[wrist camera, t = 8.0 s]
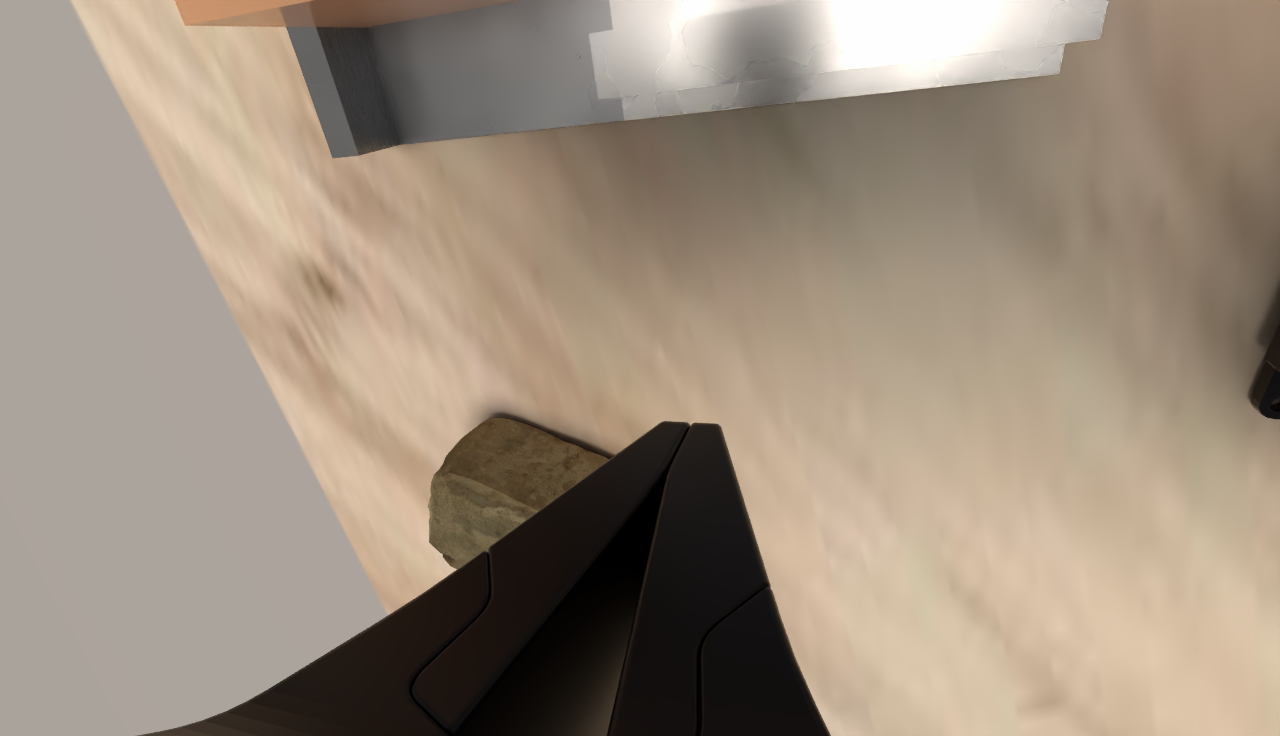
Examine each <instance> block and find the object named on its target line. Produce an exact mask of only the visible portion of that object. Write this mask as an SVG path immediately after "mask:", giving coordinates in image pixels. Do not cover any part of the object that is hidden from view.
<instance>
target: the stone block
mask: <svg viewBox="0 0 1280 736" xmlns="http://www.w3.org/2000/svg"><path fill="white" fill-rule="evenodd" d="M608 460H610V459H608V458H606V457H603V456H601V455H598V454H596V453H593V452H591V451H588V450H586V449H584V448H581V447H579V446H577V445H574V444H571V443H568V442H565V441H562V440H560V439H558V438H556V437H555V436H553V435H551V434H549V433H547V432H544V431H542V430H539V429H537V428H534V427H532V426H529V425H527V424H524V423H521V422H518V421H514V420H511V419H504V418H489V419H488V420H486V421H484V422H483V423H481V424H480V425H478V426H477V427H476V428H475V429H473V430H472V431H471V432H469V433H468V434H467V435H465V436H464V437H463V438H462V439H461V440H460V441H459V442H458V443H457V444H456V445H455V447H454V448H453V449H452V450H451V451H450V452H449V453H448V455H447V456H446V458H445V461H444V463H443V465H442V466H441V468H440V469H439V470H438V471H437V472H436V473H435V474H434V476H433V479H432V482H431V497H430V500H429V504H428V508H429V511H430V519H429V526H430V529H429V543H430V544H431V545H432V546H433V547H435V548H436V549H437V550H438V551H439V552H440V553H442V554H443V558H444V559H445V560H446V561H447V563H448V564H449V565H450V566H451V567H453V568H456V569H459V568H460V567H462V566H463V565H464V564H466V563H467V562H468V561H470V560H471V559H473V558H474V557H475V556H477V555H478V554H480V553H481V552H482V551H487V552H488V548H489V547H490V546H491V545H492V544H494V543H495V542H496V541H498V540H499V539H501V538H502V537H503V536H505V535H506V534H507V533H509V532H510V531H512V530H513V529H514V528H516V527H517V526H519V525H520V524H521V523H523V522H524V521H525V520H527V519H528V518H530V517H531V516H532V515H534V514H535V513H536V512H538V511H539V510H541V509H542V508H543V507H545V506H546V505H548V504H549V503H550V502H552V501H553V500H554V499H556V498H557V497H559V496H560V495H561V494H563V493H564V492H566V491H567V490H568V489H570V488H571V487H572V486H574V485H575V484H577V483H578V482H579V481H581V480H582V479H583V478H585V477H586V476H588V475H589V474H590V473H592V472H593V471H595V470H596V469H597V468H599V467H600V466H601V465H603V464H604V463H606V462H607V461H608Z"/></svg>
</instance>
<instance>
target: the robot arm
mask: <svg viewBox="0 0 1280 736" xmlns="http://www.w3.org/2000/svg"><path fill="white" fill-rule="evenodd" d="M1265 359H1266V361H1267V362H1266V364H1265V366H1264V369H1263V371H1262V373H1261V375H1260V378H1259V380H1258V382H1257V384H1256V387H1255V389H1254V391H1253V394H1252V396H1251V404H1252V406H1253V407H1254V408H1255V409H1256V410H1257V411H1259V412H1260V413H1261V414H1262V415H1264V416H1265V417H1267V418H1272V419H1280V402H1278V403H1276V404H1271V403H1272V402H1273V401H1274V400H1275V399H1277V398H1279V397H1280V324H1279V326H1278V328H1277V330H1276V333H1275V335H1274V337H1273V340H1272V342H1271V344H1270V346H1269V349H1268V351H1267V353H1266V356H1265ZM138 736H831V735H830V733H829V731H828V729H827V727H826V725H825V723H824V721H823V719H822V717H821V714H820V712H819V710H818V708H817V706H816V704H815V702H814V700H813V697H812V695H811V693H810V690H809V688H808V686H807V684H806V681H805V679H804V677H803V674H802V672H801V670H800V667H799V665H798V663H797V661H796V658H795V656H794V653H793V650H792V648H791V645H790V642H789V639H788V636H787V634H786V631H785V628H784V625H783V622H782V620H781V617H780V614H779V610H778V607H777V604H776V601H775V598H774V594H773V591H772V590H771V586H770V583H769V579H768V576H767V573H766V570H765V567H764V563H763V560H762V557H761V554H760V551H759V547H758V544H757V541H756V538H755V534H754V531H753V528H752V525H751V522H750V518H749V515H748V512H747V509H746V506H745V502H744V499H743V496H742V493H741V490H740V486H739V483H738V480H737V477H736V473H735V470H734V467H733V464H732V461H731V457H730V454H729V451H728V448H727V445H726V441H725V438H724V435H723V432H722V429H721V427H720V425H718V424H710V423H693V424H692V425H690V424H689V423H687V422H671V421H664V422H661V423H659V424H658V425H657V426H655V427H654V428H653V429H651V430H650V431H648V432H647V433H646V434H644V435H643V436H641V437H640V438H639V439H637V440H636V441H635V442H633V443H632V444H630V445H629V446H628V447H626V448H625V449H624V450H622V451H621V452H619V453H618V454H617V455H615V456H614V457H612V458H611V459H610V460H608V461H607V462H606V463H604V464H603V465H601V466H600V467H599V468H597V469H596V470H595V471H593V472H592V473H590V474H589V475H588V476H586V477H585V478H583V479H582V480H581V481H579V482H578V483H577V484H575V485H574V486H572V487H571V488H570V489H568V490H567V491H566V492H564V493H563V494H561V495H560V496H559V497H557V498H556V499H554V500H553V501H552V502H550V503H549V504H548V505H546V506H545V507H543V508H542V509H541V510H539V511H538V512H536V513H535V514H534V515H532V516H531V517H530V518H528V519H527V520H525V521H524V522H523V523H521V524H520V525H519V526H517V527H516V528H514V529H513V530H512V531H510V532H509V533H507V534H506V535H505V536H503V537H502V538H501V539H499V540H498V541H496V542H495V543H494V544H492V545H491V546H490V547H489V548H488V552H487V551H482V552H481V553H480V554H478V555H477V556H475V557H474V558H473V559H471V560H470V561H468V562H467V563H466V564H464V565H463V566H462V567H460V568H459V569H457V570H456V571H454V572H453V573H452V574H450V575H449V576H447V577H446V578H444V579H443V580H441V581H440V582H439V583H437V584H436V585H434V586H433V587H431V588H430V589H428V590H427V591H426V592H424V593H423V594H421V595H420V596H418V597H416V598H415V599H413V600H412V601H410V602H409V603H407V604H405V605H404V606H402V607H401V608H399V609H398V610H396V611H394V612H393V613H391V614H390V615H388V616H387V617H385V618H383V619H382V620H380V621H379V622H377V623H375V624H374V625H372V626H371V627H369V628H367V629H366V630H364V631H362V632H361V633H359V634H358V635H356V636H354V637H353V638H351V639H350V640H348V641H346V642H344V643H343V644H341V645H340V646H338V647H336V648H335V649H333V650H331V651H330V652H328V653H327V654H325V655H323V656H322V657H320V658H318V659H317V660H315V661H314V662H312V663H310V664H309V665H307V666H305V667H304V668H302V669H300V670H299V671H297V672H296V673H294V674H292V675H291V676H289V677H287V678H286V679H284V680H283V681H281V682H279V683H278V684H276V685H274V686H273V687H271V688H269V689H268V690H266V691H264V692H263V693H261V694H259V695H257V696H255V697H254V698H252V699H250V700H249V701H247V702H245V703H243V704H240V705H238V706H236V707H234V708H232V709H230V710H228V711H226V712H223V713H221V714H218V715H215V716H213V717H210V718H208V719H205V720H202V721H199V722H196V723H192V724H189V725H185V726H182V727H178V728H174V729H169V730H165V731H160V732H154V733H149V734H144V735H138Z"/></svg>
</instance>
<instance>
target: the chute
mask: <svg viewBox="0 0 1280 736" xmlns="http://www.w3.org/2000/svg"><path fill="white" fill-rule="evenodd" d="M1108 1H1109V0H521V1H515V2H509V3H503V4H498V5H492V6H486V7H480V8H475V9H469V10H463V11H457V12H452V13H446V14H440V15H434V16H429V17H423V18H417V19H412V20H406V21H400V22H394V23H389V24H383V25H377V26H371V27H366V28H351V27H286V28H287V31H288V33H289V36H290V39H291V42H292V45H293V47H294V50H295V53H296V56H297V59H298V62H299V64H300V67H301V70H302V73H303V76H304V78H305V81H306V84H307V87H308V90H309V92H310V95H311V98H312V101H313V104H314V107H315V109H316V112H317V115H318V118H319V121H320V123H321V126H322V129H323V132H324V135H325V138H326V140H327V143H328V146H329V149H330V152H331V154H332V157H333V158H340V157H350V156H359V155H363V154H367V153H370V152H374V151H378V150H382V149H386V148H389V147H393V146H397V145H402V144H412V143H421V142H430V141H440V140H449V139H458V138H467V137H477V136H486V135H495V134H505V133H514V132H523V131H533V130H542V129H551V128H561V127H570V126H579V125H588V124H598V123H607V122H616V121H627V120H636V119H646V118H655V117H664V116H674V115H683V114H692V113H702V112H711V111H720V110H730V109H739V108H748V107H758V106H767V105H776V104H786V103H795V102H804V101H813V100H823V99H832V98H841V97H851V96H860V95H869V94H879V93H888V92H897V91H907V90H916V89H925V88H935V87H944V86H953V85H962V84H972V83H981V82H990V81H1000V80H1009V79H1018V78H1028V77H1037V76H1046V75H1056V74H1059V73H1060V68H1061V63H1062V58H1063V53H1064V48H1065V43H1072V42H1080V41H1089V40H1097V39H1100V38H1101V33H1102V29H1103V24H1104V20H1105V15H1106V11H1107V6H1108Z"/></svg>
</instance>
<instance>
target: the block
mask: <svg viewBox="0 0 1280 736" xmlns="http://www.w3.org/2000/svg"><path fill="white" fill-rule="evenodd" d="M515 1H521V0H175V2H176V5H177V7H178V9H179V12H180V14H181V17H182V19H183V21H184V24H185V26H260V27H351V28H366V27H371V26H377V25H383V24H389V23H394V22H400V21H406V20H412V19H417V18H423V17H429V16H434V15H440V14H446V13H452V12H457V11H463V10H469V9H475V8H480V7H486V6H492V5H498V4H503V3H509V2H515Z"/></svg>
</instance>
